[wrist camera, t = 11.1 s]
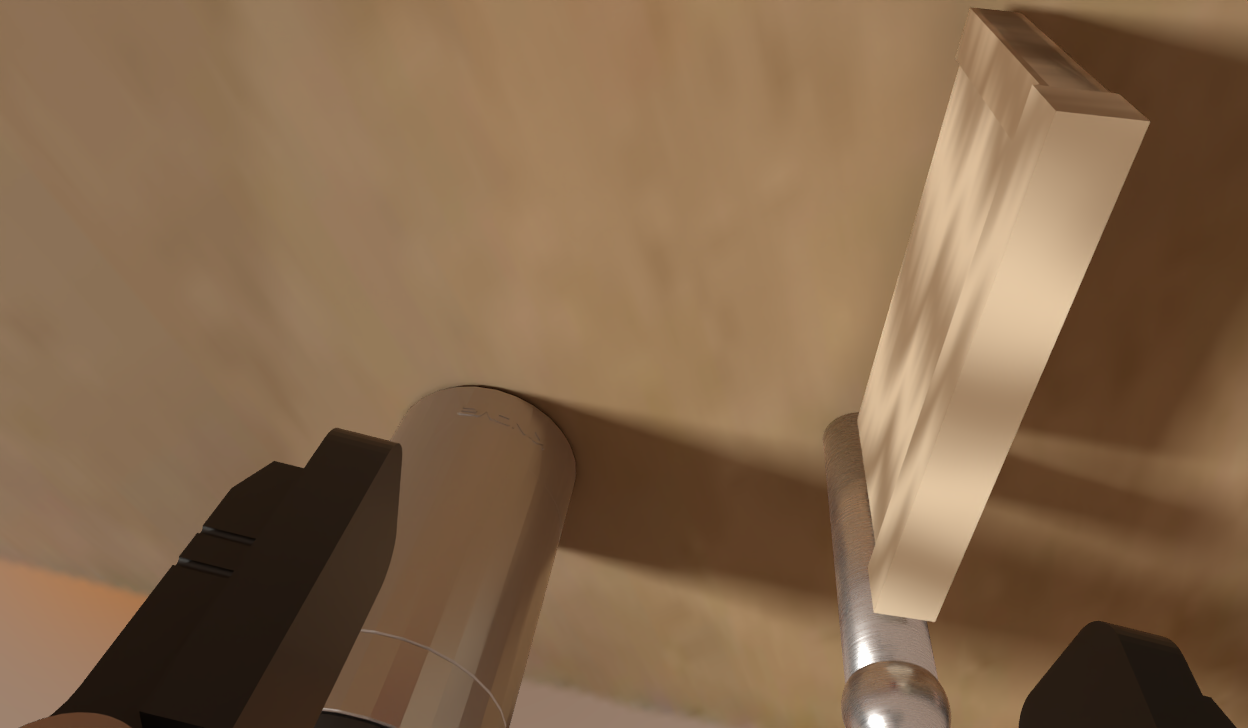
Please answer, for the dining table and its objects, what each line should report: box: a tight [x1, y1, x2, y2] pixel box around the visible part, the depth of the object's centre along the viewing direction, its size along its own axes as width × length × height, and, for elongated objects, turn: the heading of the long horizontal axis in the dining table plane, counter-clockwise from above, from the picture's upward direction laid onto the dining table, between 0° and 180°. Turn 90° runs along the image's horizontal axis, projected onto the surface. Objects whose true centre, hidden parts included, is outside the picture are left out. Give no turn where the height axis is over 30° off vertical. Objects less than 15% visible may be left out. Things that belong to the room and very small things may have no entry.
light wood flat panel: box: [857, 8, 1150, 622], centre depth 28 cm, size 17×2×10 cm, turn 176°
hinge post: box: [823, 413, 951, 728], centre depth 33 cm, size 3×3×16 cm
